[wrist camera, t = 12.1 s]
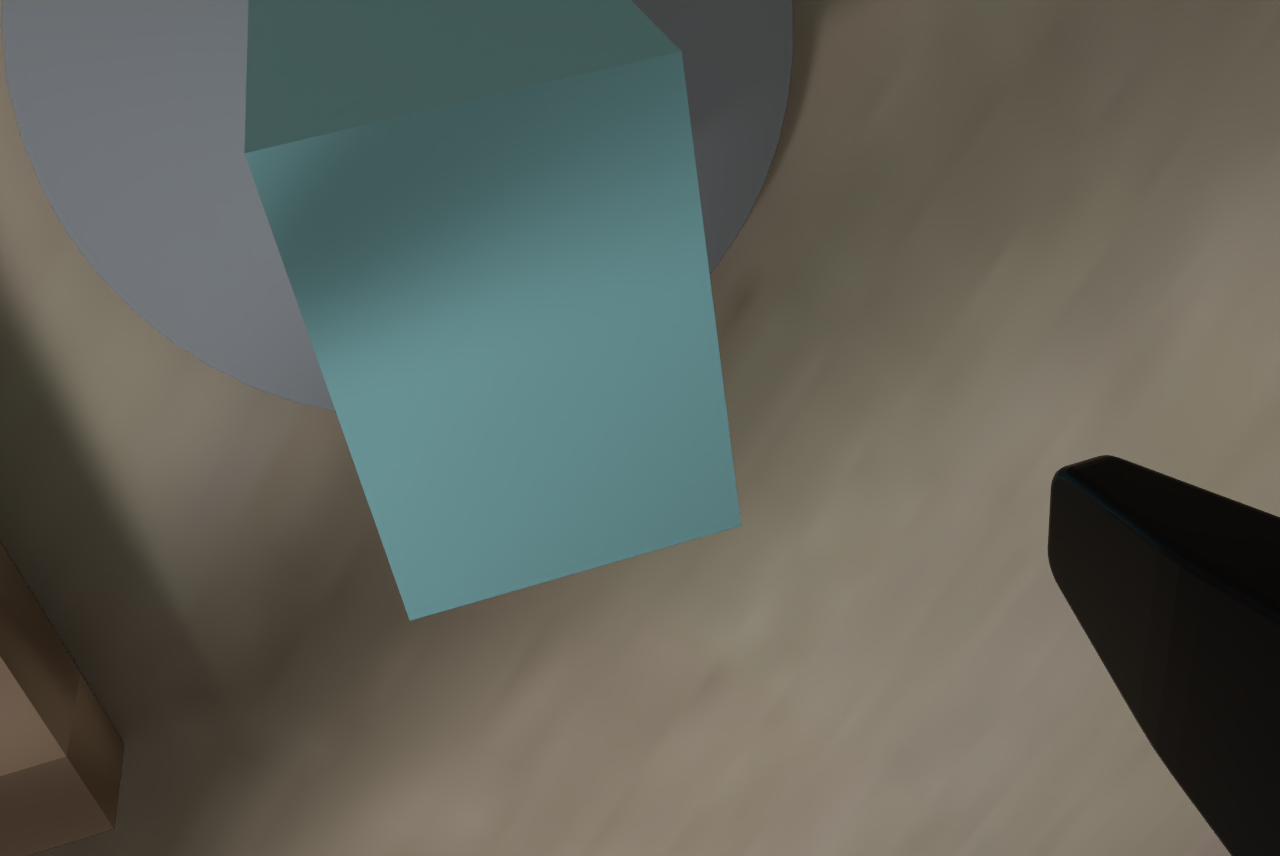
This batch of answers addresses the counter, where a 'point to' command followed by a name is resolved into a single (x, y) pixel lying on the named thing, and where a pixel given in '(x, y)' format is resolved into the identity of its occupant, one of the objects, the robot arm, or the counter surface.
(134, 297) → the coaster
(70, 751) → the brown flat piece
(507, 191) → the plug
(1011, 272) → the counter surface
